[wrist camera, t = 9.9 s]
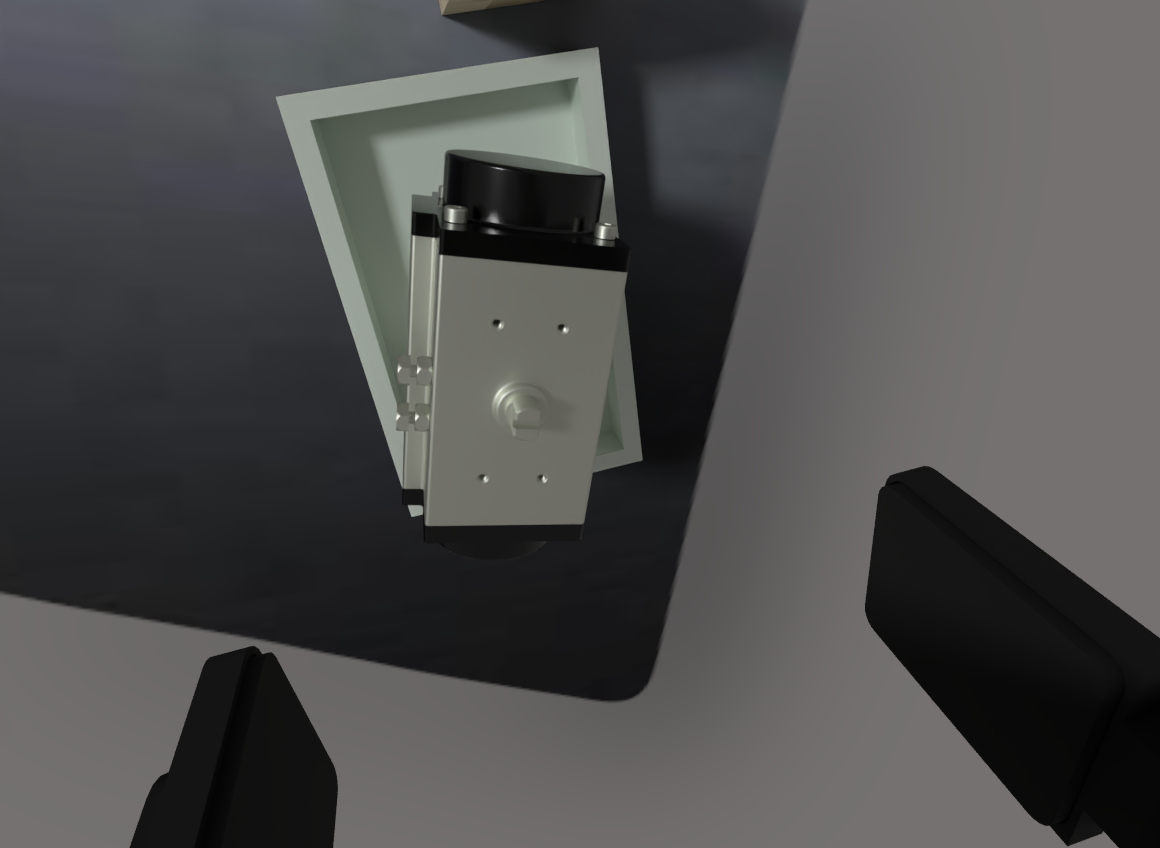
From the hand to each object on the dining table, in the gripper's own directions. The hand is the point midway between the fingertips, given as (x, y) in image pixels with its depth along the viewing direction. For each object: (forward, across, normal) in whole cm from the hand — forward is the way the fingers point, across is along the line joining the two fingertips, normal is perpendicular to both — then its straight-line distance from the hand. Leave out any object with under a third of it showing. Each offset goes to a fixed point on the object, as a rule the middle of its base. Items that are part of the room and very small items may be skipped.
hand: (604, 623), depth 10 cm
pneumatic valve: (+20, 0, +1) cm, 20 cm away
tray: (+20, 0, +1) cm, 20 cm away
